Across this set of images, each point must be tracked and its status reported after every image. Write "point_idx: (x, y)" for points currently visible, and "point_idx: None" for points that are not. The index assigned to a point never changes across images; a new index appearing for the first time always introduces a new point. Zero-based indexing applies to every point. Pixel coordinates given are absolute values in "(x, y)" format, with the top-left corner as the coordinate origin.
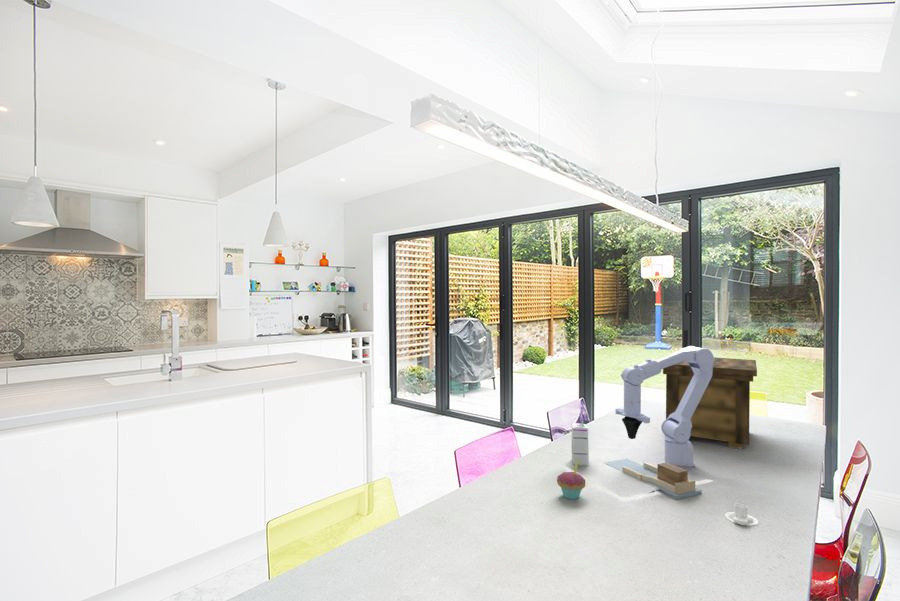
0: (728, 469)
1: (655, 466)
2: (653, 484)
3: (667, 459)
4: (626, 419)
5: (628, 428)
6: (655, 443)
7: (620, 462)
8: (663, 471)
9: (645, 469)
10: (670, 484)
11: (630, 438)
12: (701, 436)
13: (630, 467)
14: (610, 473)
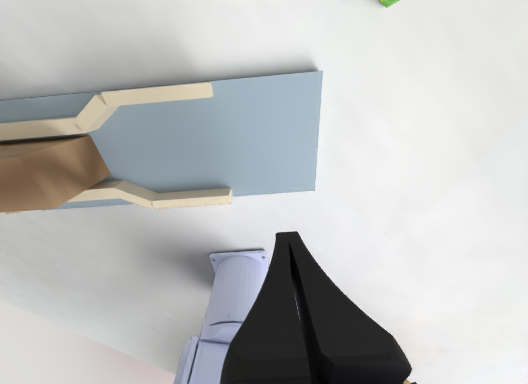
0: (195, 318)
1: (187, 205)
2: (67, 107)
3: (239, 266)
4: (340, 375)
5: (301, 280)
6: (365, 309)
7: (294, 145)
8: (8, 152)
9: (210, 179)
10: (3, 136)
11: (281, 232)
12: None
13: (239, 145)
14: (233, 32)
